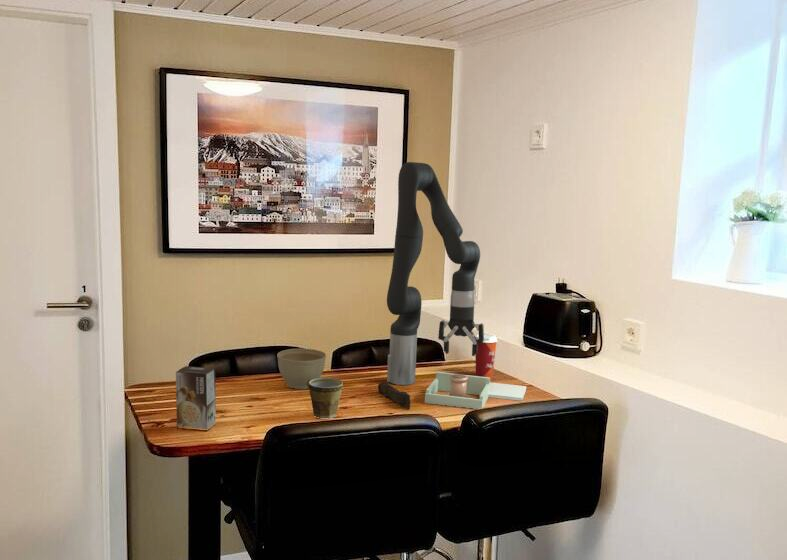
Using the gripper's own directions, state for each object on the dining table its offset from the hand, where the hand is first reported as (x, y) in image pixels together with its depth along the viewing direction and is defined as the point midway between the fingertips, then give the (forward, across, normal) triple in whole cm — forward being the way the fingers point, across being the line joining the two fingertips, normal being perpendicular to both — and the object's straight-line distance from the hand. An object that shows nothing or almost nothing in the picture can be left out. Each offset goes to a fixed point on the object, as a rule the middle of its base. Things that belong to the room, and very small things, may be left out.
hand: (460, 354), depth 218 cm
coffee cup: (+15, +4, +30) cm, 34 cm away
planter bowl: (+14, -52, -6) cm, 55 cm away
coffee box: (+15, -63, -52) cm, 83 cm away
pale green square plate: (+15, +13, +13) cm, 24 cm away
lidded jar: (+15, 0, 0) cm, 15 cm away
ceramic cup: (+15, -35, -30) cm, 49 cm away
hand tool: (+15, -18, -9) cm, 25 cm away
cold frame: (+15, 0, 0) cm, 15 cm away
